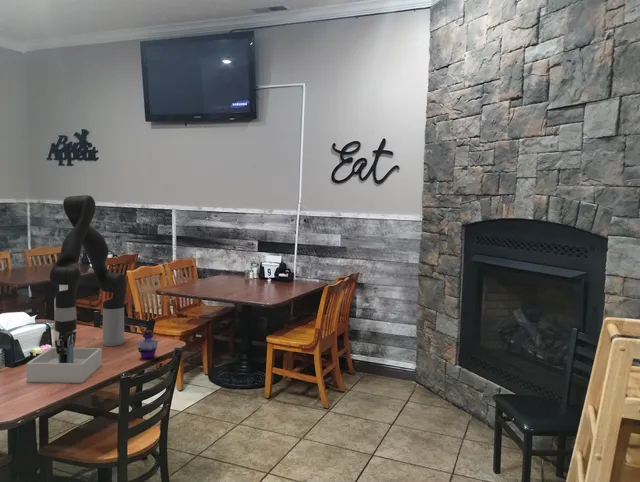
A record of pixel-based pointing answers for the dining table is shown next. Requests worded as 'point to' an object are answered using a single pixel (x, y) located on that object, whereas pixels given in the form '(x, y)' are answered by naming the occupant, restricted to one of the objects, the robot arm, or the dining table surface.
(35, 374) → the walled box
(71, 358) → the peg
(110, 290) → the robot arm
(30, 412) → the dining table surface
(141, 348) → the potion bottle
